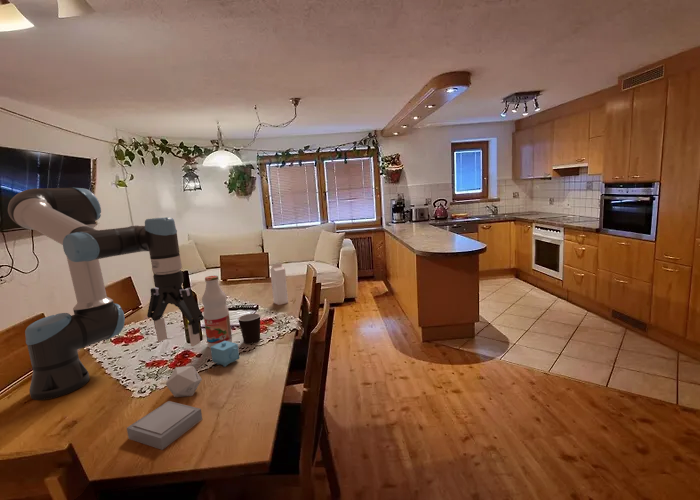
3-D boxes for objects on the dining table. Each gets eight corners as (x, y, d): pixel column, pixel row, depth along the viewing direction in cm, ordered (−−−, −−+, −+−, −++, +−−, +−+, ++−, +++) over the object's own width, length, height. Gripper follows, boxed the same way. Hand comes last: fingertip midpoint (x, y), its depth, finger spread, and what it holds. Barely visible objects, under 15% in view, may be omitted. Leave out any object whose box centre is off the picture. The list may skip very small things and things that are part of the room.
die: (180, 408, 101) (199, 375, 102) (154, 392, 101) (173, 360, 103) (193, 401, 109) (211, 371, 111) (169, 387, 110) (187, 357, 112)
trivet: (128, 438, 87) (126, 426, 87) (170, 410, 98) (168, 400, 98) (162, 449, 83) (160, 437, 82) (202, 419, 93) (200, 407, 93)
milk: (273, 303, 195) (269, 263, 191) (283, 300, 199) (279, 262, 195) (278, 305, 190) (274, 265, 187) (288, 302, 194) (284, 263, 190)
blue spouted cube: (246, 362, 125) (243, 342, 124) (231, 370, 120) (229, 349, 119) (224, 356, 131) (222, 336, 130) (210, 363, 126) (207, 343, 125)
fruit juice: (237, 340, 145) (229, 274, 141) (221, 350, 136) (212, 279, 132) (219, 338, 148) (210, 273, 144) (202, 348, 140) (192, 279, 136)
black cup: (259, 344, 140) (257, 320, 138) (238, 345, 140) (235, 321, 138) (266, 333, 151) (264, 310, 150) (246, 334, 151) (244, 311, 150)
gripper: (126, 273, 103) (138, 343, 106) (188, 275, 92) (200, 352, 96) (149, 268, 109) (160, 333, 113) (210, 269, 99) (220, 341, 102)
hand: (178, 342), depth 104 cm, fingers open, 13 cm apart
